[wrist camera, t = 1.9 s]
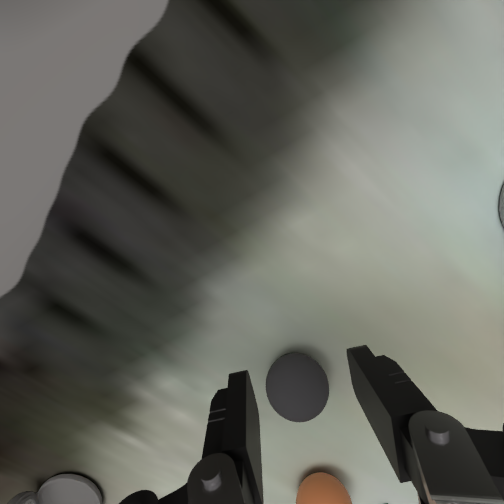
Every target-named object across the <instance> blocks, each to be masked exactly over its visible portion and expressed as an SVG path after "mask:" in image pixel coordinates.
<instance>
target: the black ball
mask: <svg viewBox="0 0 504 504" xmlns="http://www.w3.org/2000/svg"><path fill="white" fill-rule="evenodd" d="M266 393H267V397H268V400H269V402H270V404H271V406H272V407H273V408H274V410H275V411H276V412H277V413H278V414H279V415H280V416H282V417H284V418H285V419H287V420H290V421H294V422H305V421H309V420H311V419H313V418H315V417H316V416H318V415H319V414H320V413H321V412H322V410H323V409H324V407H325V405H326V403H327V400H328V396H329V383H328V379H327V376H326V374H325V372H324V370H323V368H322V367H321V366H320V365H319V363H318V362H316V361H315V360H314V359H313V358H311V357H309V356H307V355H304V354H300V353H291V354H287V355H284V356H282V357H280V358H279V359H277V360H276V361H275V362H274V363H273V365H272V366H271V368H270V370H269V372H268V374H267V378H266Z"/></svg>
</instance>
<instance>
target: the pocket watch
mask: <svg viewBox="0 0 504 504" xmlns="http://www.w3.org/2000/svg"><path fill="white" fill-rule="evenodd" d="M8 504H102V497H101V494H100V491H99V489H98V488H97V487H96V485H95V484H94V483H92V482H91V481H90V480H89V479H87V478H85V477H82V476H80V475H75V474H60V475H57V476H54V477H52V478H50V479H48V480H47V481H46V482H45V483H44V484H43V485H42V486H41V488H40V489H39V491H38V493H37V492H35V493H34V492H33V491H26V492H22V493H19V494H17V495H16V496H15V497H13V498H12V499H11V500H10V501H9V502H8Z"/></svg>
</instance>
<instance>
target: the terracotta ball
mask: <svg viewBox="0 0 504 504" xmlns="http://www.w3.org/2000/svg"><path fill="white" fill-rule="evenodd" d="M296 504H352V501H351V498H350V496H349V494H348V492H347V490H346V488H345V487H344V485H343V484H342V483H341V482H340V481H339V480H338V479H337V478H335V477H334V476H332V475H330V474H327V473H322V472H318V473H313V474H311V475H309V476H308V477H306V478H305V479H304V480H303V482H302V483H301V485H300V487H299V489H298V492H297V497H296Z"/></svg>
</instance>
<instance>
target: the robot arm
mask: <svg viewBox="0 0 504 504" xmlns="http://www.w3.org/2000/svg"><path fill="white" fill-rule="evenodd" d="M499 211H500V217H501V221H502V224H503V226H504V185H503V188H502V192H501V196H500V204H499ZM347 357H348V363H349V369H350V374H351V380H352V385H353V389H354V392H355V395H356V397H357V399H358V401H359V403H360V405H361V407H362V409H363V411H364V413H365V415H366V417H367V419H368V421H369V423H370V425H371V427H372V429H373V430H374V432H375V434H376V436H377V438H378V440H379V442H380V444H381V446H382V448H383V450H384V452H385V454H386V456H387V458H388V459H389V461H390V463H391V465H392V467H393V469H394V471H395V473H396V475H397V477H398V479H399V481H400V483H403V482H408V481H412V483H413V485H414V487H415V488H416V490H417V493H418V500H419V504H504V424H503V432H502V431H489V430H476V429H470V428H466V427H464V426H463V425H462V424H461V423H460V422H459V421H458V420H456V419H455V418H453V417H452V416H450V415H448V414H445V413H442V412H439V411H437V410H436V409H435V407H434V406H433V405H432V404H431V403H430V401H429V400H428V399H427V398H426V397H425V396H424V394H423V393H422V392H421V391H420V390H419V389H418V387H417V386H416V385H415V384H414V383H413V381H411V379H410V378H409V377H408V376H407V374H406V373H404V371H403V370H402V368H401V367H400V366H399V365H398V364H397V363H396V362H395V361H393V360H392V359H390V358H388V357H386V356H385V355H382V356H377V357H375V356H374V355H373V353H372V352H371V351H370V349H369V348H368V347H367V346H366V345H363V346H358V347H353V348H349V349H347ZM119 504H264V503H263V483H262V464H261V444H260V424H259V413H258V407H257V403H256V399H255V395H254V391H253V387H252V384H251V380H250V376H249V373H248V370H245V371H240V372H235V373H231V374H229V380H228V388H225V389H220V390H218V391H217V393H216V394H215V396H214V397H213V399H212V401H211V406H210V414H209V418H208V424H207V430H206V436H205V442H204V448H203V454H202V460H200V461H199V462H198V463H197V464H196V465H195V466H194V468H193V469H192V471H191V473H190V475H189V477H188V482H187V483H186V484H185V485H184V486H182V487H181V488H179V489H178V490H176V491H174V492H172V493H170V494H168V495H167V496H165V497H163V498H161V499H159V500H158V498H157V496H156V494H155V493H154V492H152V491H149V490H141V491H137V492H135V493H133V494H131V495H129V496H128V497H126V498H125V499H124V500H122V501H121V502H120V503H119Z"/></svg>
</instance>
